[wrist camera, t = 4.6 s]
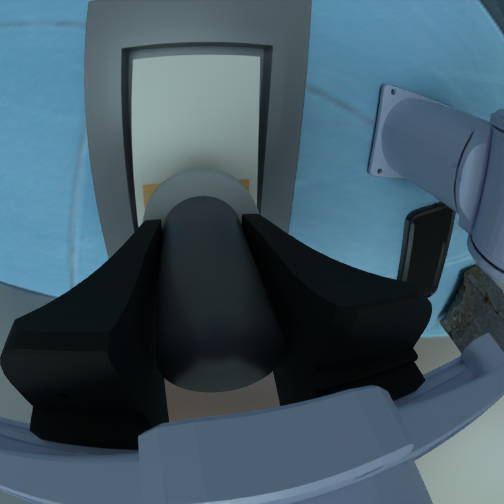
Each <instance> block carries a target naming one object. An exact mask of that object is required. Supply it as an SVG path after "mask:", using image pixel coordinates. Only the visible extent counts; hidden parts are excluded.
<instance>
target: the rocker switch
mask: <svg viewBox="0 0 504 504" xmlns="http://www.w3.org/2000/svg"><path fill="white" fill-rule="evenodd" d="M259 90H260V57H257V56H242V55H178V56H162V57H151V58H142V59H133V72H132V153H133V172H134V186H135V198H136V209H137V219H138V227H139V226H140V225H141V224H142V222H143V217H144V213H145V209H146V206H147V203H148V201H149V199H150V197H151V195H152V194H153V192H154V191H155V189H156V188H157V187H158V186H159V185H160V184H161V183H162V182H164V181H165V180H166V179H167V178H169V177H171V176H172V175H174V174H177V173H179V172H181V171H185V170H188V169H194V168H211V169H216V170H220V171H223V172H225V173H228V174H230V175H232V176H233V177H235V178H236V179H238V180H239V181H240V182H241V183H242V184H243V185H244V186H245V187H246V188H247V190H248V191H249V192H250V194H251V196H252V198H253V200H254V202H255V204H256V205H257V175H258V134H259Z"/></svg>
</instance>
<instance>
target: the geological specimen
mask: <svg viewBox="0 0 504 504" xmlns="http://www.w3.org/2000/svg"><path fill="white" fill-rule="evenodd" d="M440 323H441V325H442V327H443V328H444V329H445V331H446V332H447V333H448V335H449V336H450V337H451V339H452V340H453V341H454V343H455V345H456V346H457V347H458V349H459V350H460V352H461V353H462V352H463V351H464V349H465V348H466V347H467V346H468V345H469V344H470V343H471V342H472V341H473V340H475V339H477V338H478V337H480V336H482V335H484V334H486V333H489V334H490V335H491V336H492V337H493V339H494V340H495V341H496V343H497V344H498V345H499V347H500V348H501V349H502V351H503V352H504V293H503V290H502V289H501V288H500V287H499V286H498V285H497V284H496V283H495V282H494V281H493V280H492V279H491V277H490V276H488V275H487V274H486V273H485V272H484V271H483V270H482V269H481V268H480V267H479V266H478V265H477V266H476V267H471V268H470V269H469V270H467V271H466V272H464V283H463V284H462V285H461V286H460V288H459V291H458V293H457V295H456V297H455V299H454V301H453V302H452V304H451V306H450V308H449V310H448V311H447V313H446V315H445V316H444V318H443V319H441V320H440Z"/></svg>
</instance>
